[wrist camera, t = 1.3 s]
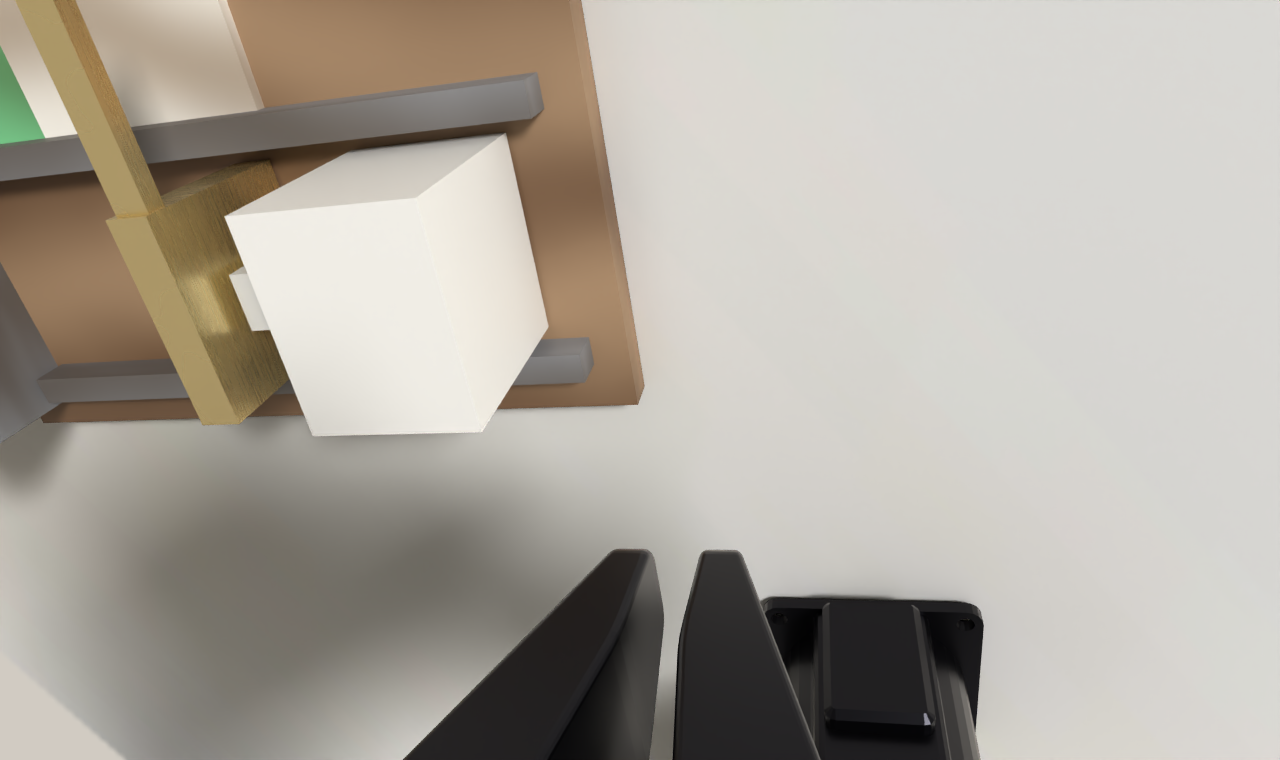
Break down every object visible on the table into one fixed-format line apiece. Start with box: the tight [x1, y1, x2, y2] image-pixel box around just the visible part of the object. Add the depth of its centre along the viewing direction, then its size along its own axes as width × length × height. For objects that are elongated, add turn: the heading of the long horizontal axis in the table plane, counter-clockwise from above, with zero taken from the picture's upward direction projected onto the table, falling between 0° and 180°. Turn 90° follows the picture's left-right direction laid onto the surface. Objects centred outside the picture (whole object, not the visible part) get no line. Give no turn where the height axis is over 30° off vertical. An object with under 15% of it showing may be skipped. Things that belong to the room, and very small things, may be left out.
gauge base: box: [0, 0, 644, 443], centre depth 19 cm, size 14×20×7 cm
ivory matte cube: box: [224, 132, 549, 436], centre depth 18 cm, size 5×6×5 cm
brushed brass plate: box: [15, 0, 290, 425], centre depth 19 cm, size 10×1×4 cm, turn 9°
